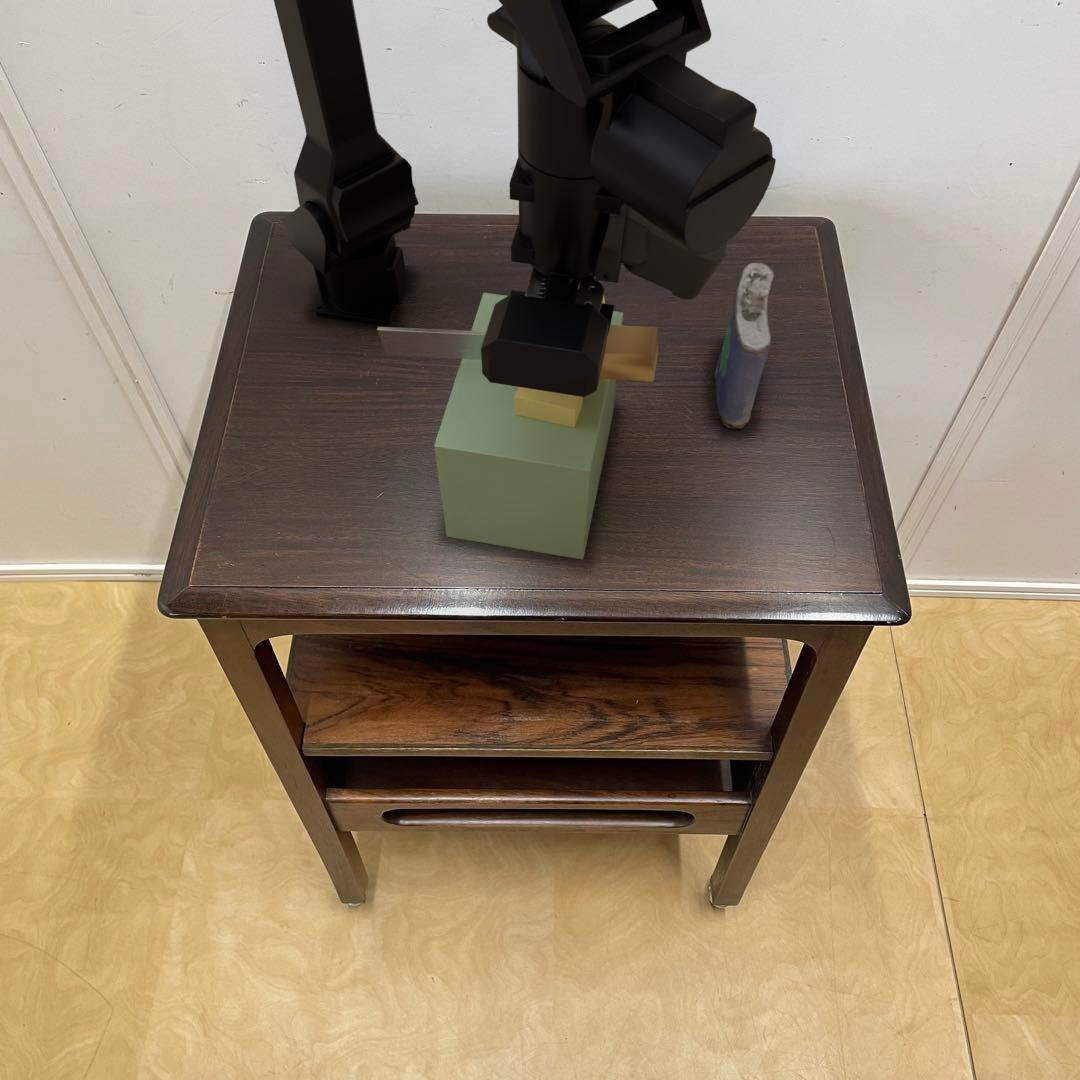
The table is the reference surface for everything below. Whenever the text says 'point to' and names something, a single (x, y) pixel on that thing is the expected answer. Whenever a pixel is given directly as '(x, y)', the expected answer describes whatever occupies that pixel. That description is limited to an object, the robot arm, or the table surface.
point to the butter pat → (548, 406)
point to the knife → (624, 353)
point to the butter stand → (519, 462)
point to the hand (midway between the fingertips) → (565, 357)
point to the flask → (744, 347)
